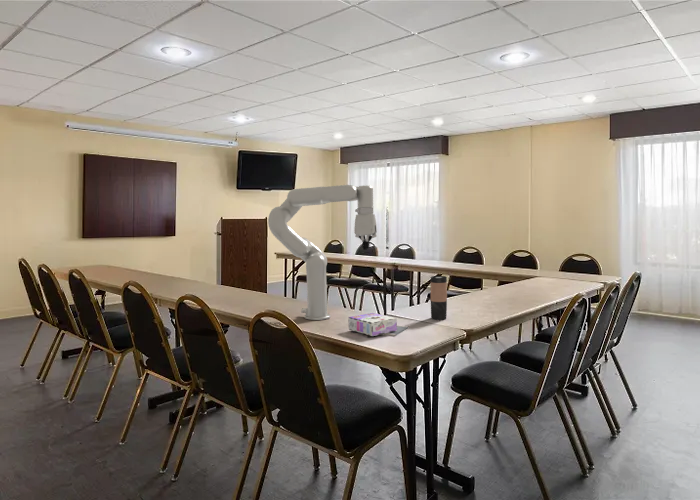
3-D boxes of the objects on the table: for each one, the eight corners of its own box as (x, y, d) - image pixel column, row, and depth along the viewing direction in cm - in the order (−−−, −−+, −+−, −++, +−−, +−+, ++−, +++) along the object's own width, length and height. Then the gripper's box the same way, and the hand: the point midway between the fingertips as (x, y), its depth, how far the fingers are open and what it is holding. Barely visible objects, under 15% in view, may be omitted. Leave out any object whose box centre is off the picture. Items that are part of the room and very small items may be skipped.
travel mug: (449, 319, 235) (449, 277, 234) (435, 320, 233) (435, 278, 231) (442, 316, 242) (442, 275, 241) (427, 317, 240) (427, 276, 238)
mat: (357, 332, 212) (357, 330, 212) (372, 324, 226) (372, 323, 226) (395, 336, 205) (395, 334, 205) (408, 327, 219) (408, 326, 219)
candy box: (348, 330, 215) (371, 336, 201) (347, 316, 214) (371, 322, 201) (373, 325, 223) (397, 331, 209) (373, 312, 222) (397, 317, 209)
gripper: (348, 211, 239) (348, 249, 240) (376, 211, 233) (377, 250, 234) (354, 211, 246) (355, 248, 247) (382, 211, 239) (383, 249, 241)
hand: (366, 249), depth 240 cm, fingers closed
